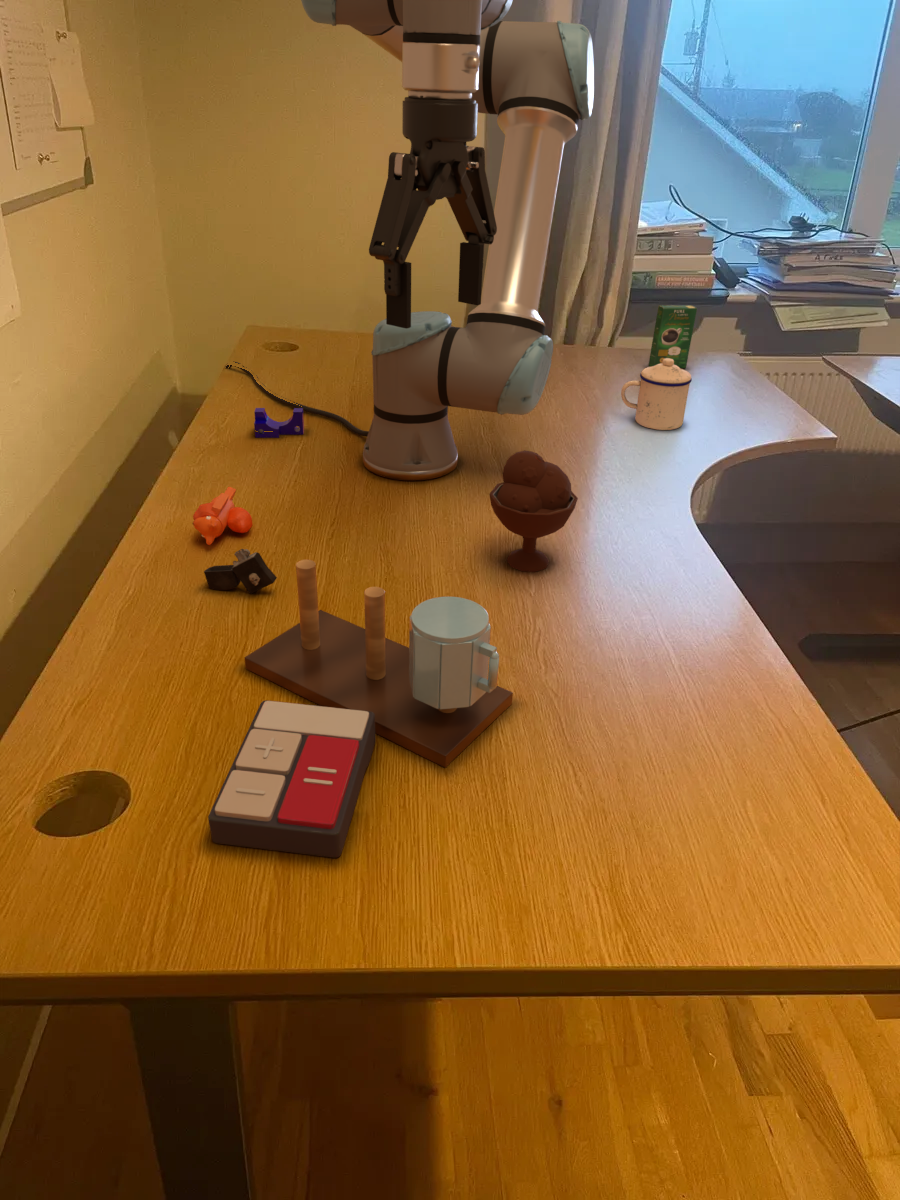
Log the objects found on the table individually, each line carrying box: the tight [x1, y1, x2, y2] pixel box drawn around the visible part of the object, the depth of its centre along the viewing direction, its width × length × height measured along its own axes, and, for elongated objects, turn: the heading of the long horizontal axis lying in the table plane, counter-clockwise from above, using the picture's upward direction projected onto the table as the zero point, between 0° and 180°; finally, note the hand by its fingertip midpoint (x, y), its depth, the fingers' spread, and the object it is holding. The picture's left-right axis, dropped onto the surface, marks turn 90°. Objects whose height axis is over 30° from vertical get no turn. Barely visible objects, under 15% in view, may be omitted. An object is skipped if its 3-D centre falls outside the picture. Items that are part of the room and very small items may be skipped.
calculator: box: [207, 700, 377, 859], centre depth 79 cm, size 11×4×15 cm
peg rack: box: [244, 559, 514, 768], centre depth 90 cm, size 26×12×12 cm, turn 55°
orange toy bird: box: [192, 486, 253, 546], centre depth 120 cm, size 5×8×12 cm
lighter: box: [203, 548, 278, 595], centre depth 107 cm, size 8×2×5 cm
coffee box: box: [648, 304, 698, 369], centre depth 189 cm, size 8×3×13 cm, turn 103°
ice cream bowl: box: [488, 450, 579, 573], centre depth 113 cm, size 11×11×15 cm
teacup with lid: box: [620, 358, 693, 431], centre depth 160 cm, size 12×9×12 cm
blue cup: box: [408, 596, 500, 710], centre depth 84 cm, size 9×7×8 cm
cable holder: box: [253, 407, 305, 439], centre depth 152 cm, size 8×4×4 cm, turn 94°
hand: (435, 314), depth 99 cm, fingers open, 13 cm apart
